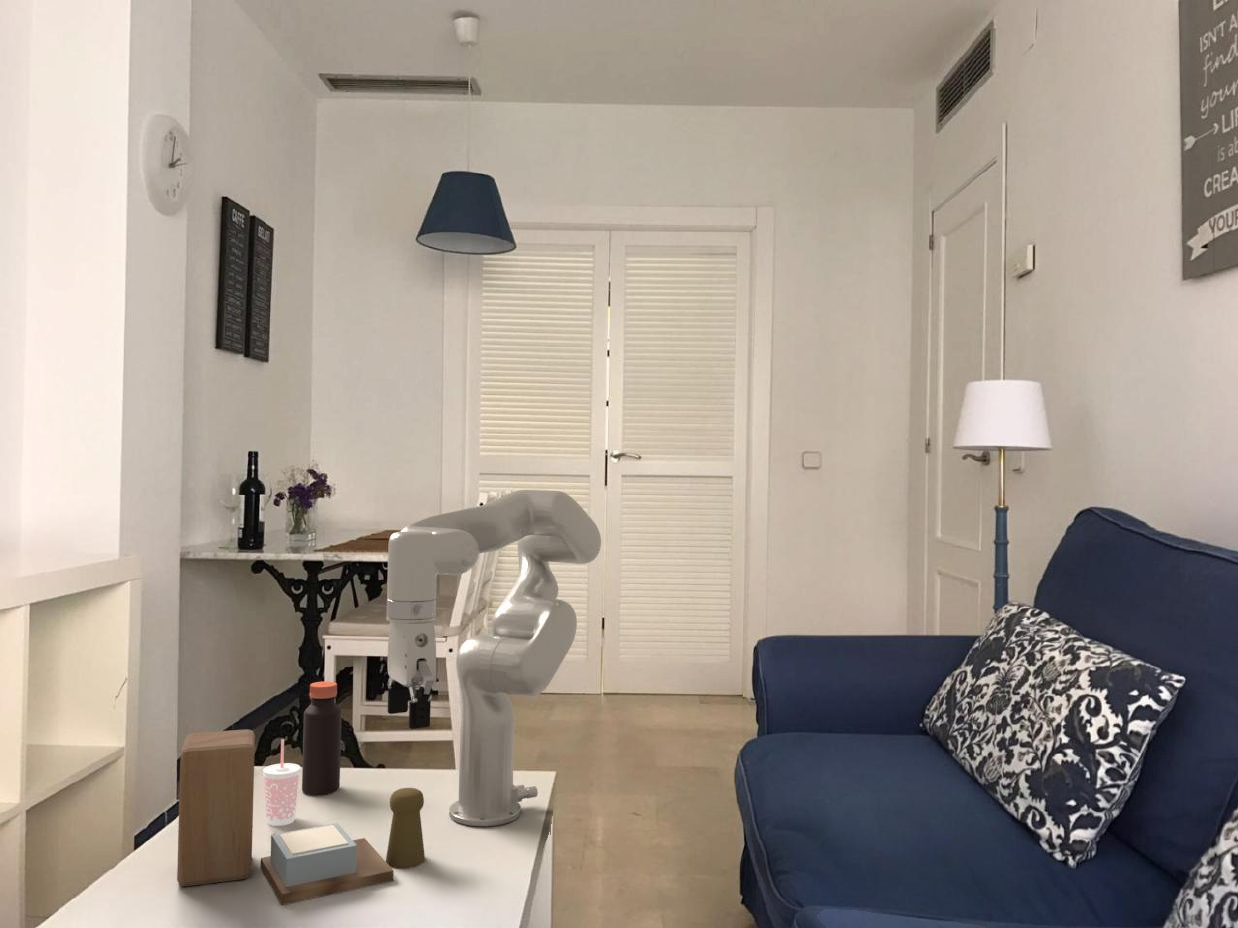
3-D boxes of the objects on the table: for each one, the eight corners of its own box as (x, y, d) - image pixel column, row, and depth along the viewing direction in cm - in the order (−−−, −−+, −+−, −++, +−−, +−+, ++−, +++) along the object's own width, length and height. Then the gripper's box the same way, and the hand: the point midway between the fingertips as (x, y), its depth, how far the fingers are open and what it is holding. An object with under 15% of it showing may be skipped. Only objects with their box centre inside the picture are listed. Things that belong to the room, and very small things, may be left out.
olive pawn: (415, 870, 144) (417, 798, 144) (378, 866, 145) (380, 794, 145) (431, 854, 150) (432, 785, 150) (395, 850, 151) (397, 781, 151)
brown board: (364, 847, 152) (364, 837, 152) (393, 880, 140) (393, 870, 140) (260, 867, 143) (260, 857, 143) (281, 904, 132) (282, 894, 132)
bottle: (333, 796, 174) (336, 688, 175) (296, 796, 174) (299, 687, 174) (343, 784, 181) (346, 680, 181) (308, 783, 181) (311, 679, 181)
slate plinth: (337, 848, 148) (337, 821, 148) (356, 872, 139) (356, 843, 139) (270, 861, 142) (271, 833, 142) (286, 886, 134) (286, 857, 134)
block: (182, 862, 145) (185, 731, 145) (251, 854, 148) (255, 726, 148) (176, 889, 135) (180, 750, 136) (251, 880, 139) (254, 745, 139)
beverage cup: (256, 819, 163) (258, 738, 163) (290, 811, 167) (292, 732, 167) (269, 830, 158) (271, 746, 158) (305, 821, 162) (307, 740, 162)
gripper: (455, 616, 142) (452, 730, 142) (414, 601, 157) (412, 704, 157) (407, 619, 138) (403, 736, 138) (370, 604, 153) (367, 710, 153)
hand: (408, 719), depth 147 cm, fingers open, 9 cm apart
